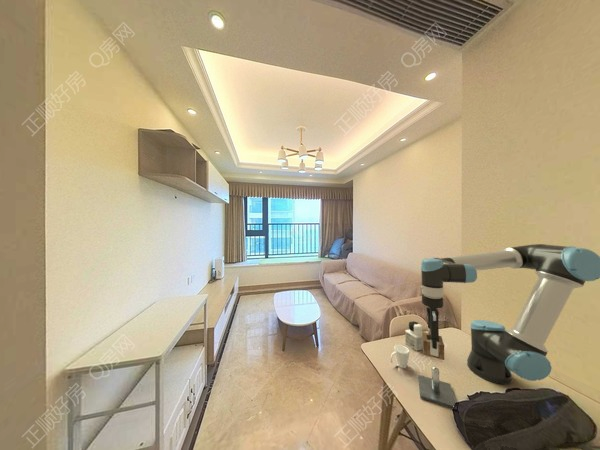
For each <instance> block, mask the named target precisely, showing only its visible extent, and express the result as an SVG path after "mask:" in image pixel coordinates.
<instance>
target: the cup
mask: <svg viewBox="0 0 600 450" xmlns="http://www.w3.org/2000/svg"><path fill="white" fill-rule="evenodd" d="M393 350H394V351H393V352H392V353H391V354H390V357H389V358H390V359H389V360H390V362H391V364H393V365H394V366H395V367H400V368H402V369H406V368H407V367H408V363H409V356H410V350H409V348H408V347H407V346H405V345H403V344H395V345H394V346H393ZM394 355H395V360H396V364H395V363H394V362H393V356H394Z"/></svg>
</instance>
